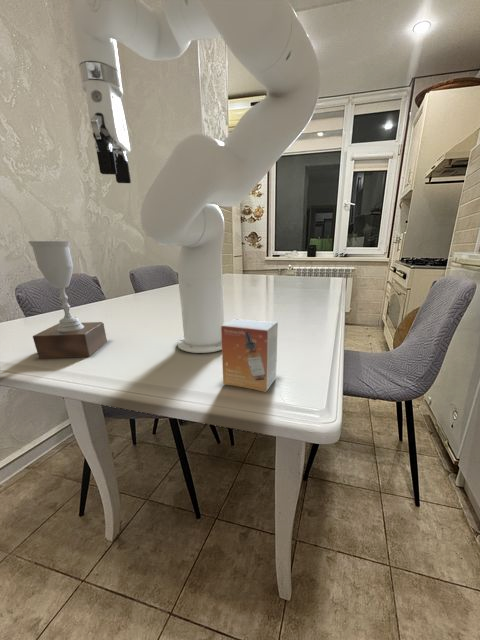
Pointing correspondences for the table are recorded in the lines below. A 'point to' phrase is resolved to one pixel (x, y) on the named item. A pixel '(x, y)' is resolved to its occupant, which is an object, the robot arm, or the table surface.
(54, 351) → the walnut block
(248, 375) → the small box
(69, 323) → the chalice
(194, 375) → the table surface
